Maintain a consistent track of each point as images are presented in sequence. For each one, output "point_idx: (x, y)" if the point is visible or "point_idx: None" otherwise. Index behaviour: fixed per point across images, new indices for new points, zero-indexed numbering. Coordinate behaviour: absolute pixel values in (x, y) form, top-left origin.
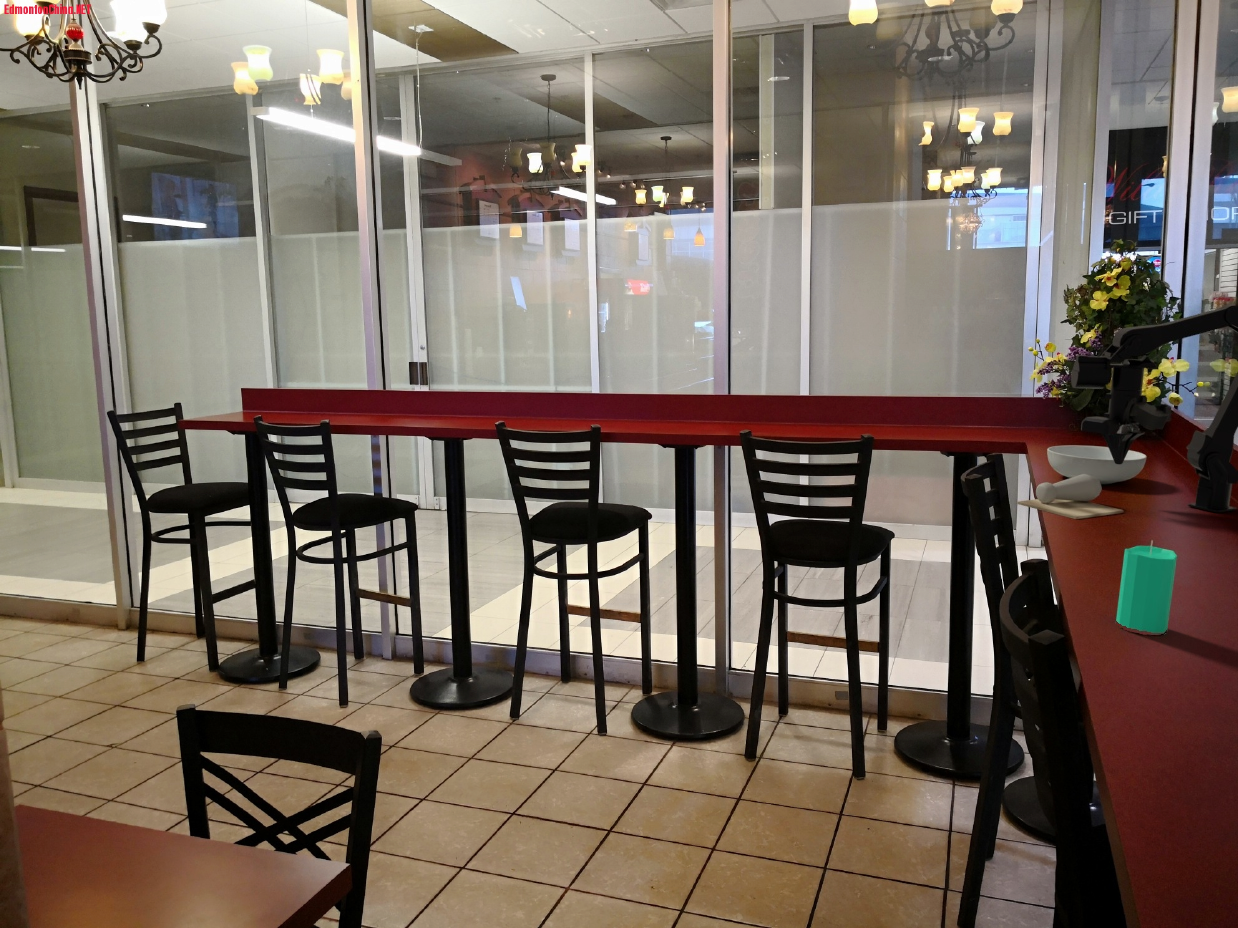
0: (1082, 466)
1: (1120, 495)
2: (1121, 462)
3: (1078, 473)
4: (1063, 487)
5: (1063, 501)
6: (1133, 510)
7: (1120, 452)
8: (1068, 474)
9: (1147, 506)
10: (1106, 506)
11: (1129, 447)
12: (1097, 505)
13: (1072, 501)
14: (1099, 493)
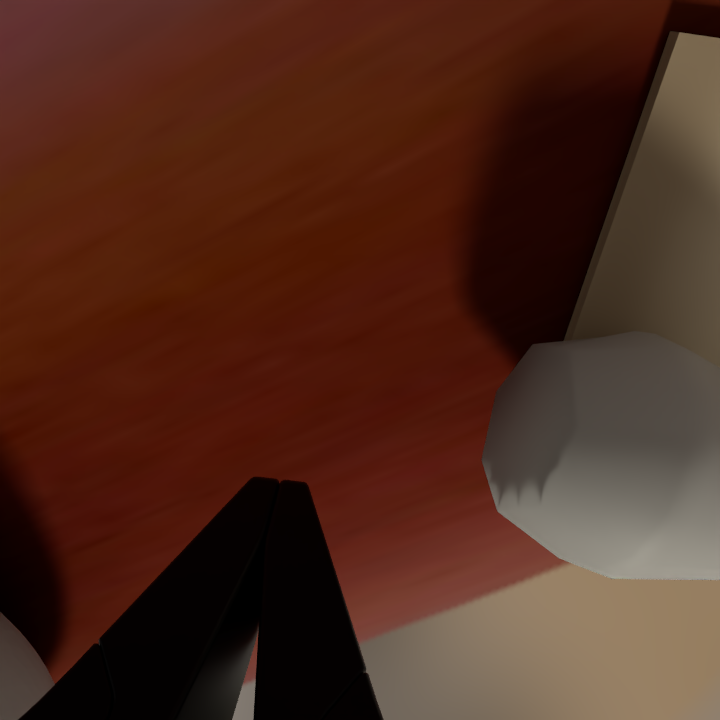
0: (26, 708)
1: (52, 373)
2: (273, 491)
3: (45, 673)
4: None
5: None
6: (477, 31)
7: (352, 628)
8: None
9: (192, 53)
10: (626, 205)
11: (92, 671)
12: (647, 263)
13: None
14: (545, 346)
